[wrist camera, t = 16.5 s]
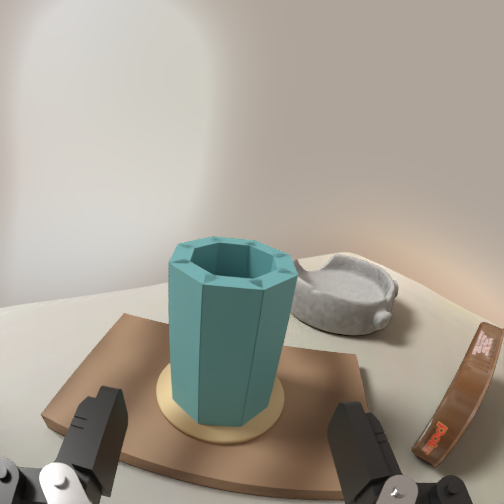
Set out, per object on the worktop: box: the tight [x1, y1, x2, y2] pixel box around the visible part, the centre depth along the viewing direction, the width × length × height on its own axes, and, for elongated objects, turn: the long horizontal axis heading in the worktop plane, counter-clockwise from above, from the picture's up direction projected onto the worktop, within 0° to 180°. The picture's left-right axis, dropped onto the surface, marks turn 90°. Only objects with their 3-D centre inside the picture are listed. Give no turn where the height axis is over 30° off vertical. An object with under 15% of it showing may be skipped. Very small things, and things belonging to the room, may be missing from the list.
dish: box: [290, 254, 398, 335], centre depth 36 cm, size 14×14×5 cm
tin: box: [412, 322, 504, 467], centre depth 18 cm, size 15×3×8 cm, turn 129°
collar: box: [169, 236, 298, 427], centre depth 18 cm, size 6×6×10 cm
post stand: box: [41, 313, 369, 500], centre depth 19 cm, size 22×14×11 cm, turn 83°
